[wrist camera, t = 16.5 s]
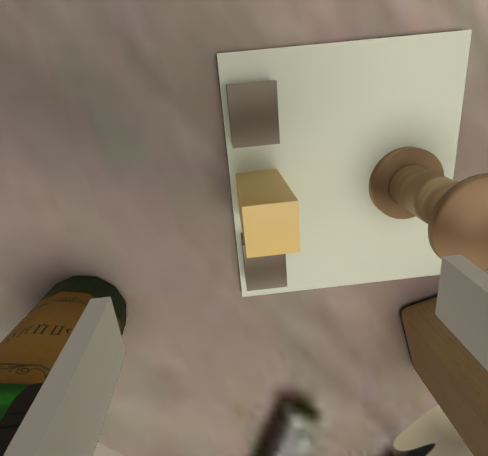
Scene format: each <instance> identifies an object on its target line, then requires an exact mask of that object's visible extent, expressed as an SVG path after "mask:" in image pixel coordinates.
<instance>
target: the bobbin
mask: <svg viewBox="0 0 488 456" xmlns="http://www.w3.org/2000/svg"><path fill="white" fill-rule="evenodd" d="M369 194H370V198H371V200H372V202H373V204H374V205H375V206H376V207H377V208H378V209H379V210H380V211H381V212H383V213H384V214H385V215H387V216H389V217H392V218H396V219H408V218H413V217H418V218H419V219H421V220H422V221H424V222H425V223H427V224H428V239H429V243H430V246H431V248H432V250H433V251H434V253H435V254H436V255H437V256H438V257H439V258H440V259H442V257H444V256H453V255H463V256H464V257H465V258H467V259H468V260H469V261H471V262H472V263H474V264H475V265H476V266H478V267H479V268H480V269H482V270H483V271H485V270H488V173H486V174H478V175H474V176H471V177H469V178H466V179H464V180H462V181H460V182H457V181H454V180H452V179H450V178H447V177H445V176H444V170H443V167H442V164H441V162H440V161H439V159H438V158H437V157H436V156H435V155H434V154H432V153H431V152H429V151H427V150H424V149H421V148H417V147H402V148H398V149H396V150H393V151H391V152H390V153H388V154H387V155H385V156H384V157H383V158H382V159H381V160H380V161H379V162H378V163H377V165H376V166H375V168H374V169H373V171H372V174H371V176H370V180H369Z"/></svg>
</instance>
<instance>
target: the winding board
mask: <svg viewBox="0 0 488 456" xmlns="http://www.w3.org/2000/svg"><path fill="white" fill-rule="evenodd" d="M471 32H472V30H462V31H452V32H441V33H430V34H420V35H409V36H398V37H388V38H377V39H366V40H356V41H345V42H334V43H324V44H313V45H302V46H292V47H281V48H270V49H260V50H249V51H238V52H228V53H217V62H218V71H219V81H220V90H221V99H222V109H223V118H224V128H225V137H226V147H227V156H228V166H229V175H230V185H231V194H232V204H233V213H234V222H235V232H236V241H237V251H238V260H239V270H240V279H241V289H242V297H246V296H255V295H264V294H273V293H281V292H290V291H299V290H308V289H317V288H325V287H334V286H343V285H352V284H361V283H369V282H378V281H387V280H396V279H405V278H414V277H422V276H431V275H440V271H441V263H442V259H440V258H439V257H438V256H437V255H436V254H435V253H434V251H433V250H432V248H431V246H430V243H429V239H428V224H427V223H425V222H424V221H422V220H421V219H419V218H418V217H413V218H408V219H396V218H392V217H389V216H387V215H385V214H384V213H383V212H381V211H380V210H379V209H378V208H377V207H376V206H375V205H374V204H373V202H372V200H371V198H370V194H369V180H370V176H371V174H372V171H373V169H374V168H375V166H376V165H377V163H378V162H379V161H380V160H381V159H382V158H383V157H384V156H385V155H387V154H388V153H390V152H391V151H393V150H396V149H398V148H402V147H417V148H421V149H424V150H427V151H429V152H431V153H432V154H434V155H435V156H436V157H437V158H438V159H439V161H440V162H441V164H442V167H443V170H444V176H445V177H447V178H450V179H452V180H453V174H454V166H455V158H456V151H457V143H458V135H459V127H460V119H461V111H462V103H463V95H464V87H465V80H466V72H467V64H468V56H469V48H470V40H471ZM269 80H277V95H278V115H279V134H280V144H272V145H262V146H252V147H242V148H233V147H232V141H231V131H230V121H229V111H228V101H227V91H226V85H228V84H238V83H249V82H259V81H269ZM273 169H277V170H278V171H279V173H280V174H281V176H282V177H283V179H284V180H285V182H286V183H287V185H288V186H289V187H290V189H291V190H292V192H293V193H294V195H295V196H296V198H297V199H298V201H299V227H300V252H298V253H289V254H286V270H287V287H280V288H271V289H262V290H253V291H247V287H246V280H245V271H244V261H243V251H242V241H241V233H242V227H241V221H240V215H239V207H238V197H237V187H236V177H235V173H245V172H254V171H264V170H273Z"/></svg>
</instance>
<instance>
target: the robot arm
mask: <svg viewBox="0 0 488 456" xmlns="http://www.w3.org/2000/svg"><path fill="white" fill-rule="evenodd" d="M435 315H436V316H437V317H438V318H439V319H440V320H441V321H442V322H443V323H444V325H445V326H446V327H447V328H448V329H449V330H450V331H451V332H452V333H453V334H454V335H455V336H456V338H457V339H458V340H459V341H460V342H461V343H462V344H463V345H464V346H465V347H466V348H467V349H468V351H469V352H470V353H471V354H472V355H473V356H474V357H475V358H476V359H477V360H478V361H479V362H480V364H481V365H482V366H483V367H484V368H485V369H486V370H487V371H488V274H487V273H486V272H485V271H483V270H482V269H480V268H479V267H478V266H476V265H475V264H474V263H472V262H471V261H469V260H468V259H467V258H465V257H464V256H463V255H453V256H444V257H442V263H441V271H440V279H439V287H438V295H437V302H436V310H435ZM125 354H126V351H125V347H124V343H123V340H122V336H121V333H120V329H119V325H118V322H117V318H116V314H115V311H114V307H113V304H112V300H111V297H102V298H94V299H90V301H89V303H88V304H87V306H86V308H85V310H84V312H83V313H82V315H81V317H80V319H79V321H78V322H77V324H76V326H75V328H74V330H73V331H72V333H71V335H70V337H69V339H68V340H67V342H66V344H65V346H64V347H63V349H62V351H61V353H60V355H59V356H58V358H57V360H56V362H55V364H54V365H53V367H52V369H51V371H50V373H49V374H48V376H47V378H46V380H45V382H44V383H36V384H29V385H28V386H27V387H26V388H25V389H24V390H23V391H22V392H21V393H20V394H18V395H17V396H16V397H15V398H14V400H13V401H12V403H11V404H10V406H9V408H8V409H7V411H6V412H5V414H4V417H3V418H2V419H1V420H0V456H93V454H94V450H95V448H96V444H97V442H98V438H99V435H100V432H101V429H102V426H103V423H104V420H105V417H106V414H107V410H108V407H109V404H110V401H111V398H112V395H113V392H114V389H115V386H116V382H117V379H118V376H119V373H120V370H121V367H122V364H123V361H124V358H125Z"/></svg>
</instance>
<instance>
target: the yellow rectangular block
mask: <svg viewBox="0 0 488 456" xmlns="http://www.w3.org/2000/svg"><path fill="white" fill-rule="evenodd" d="M235 177H236V187H237V197H238V207H239V215H240V221H241V227H242V233H243V239H244V245H245V251H246V257H247V258H253V257H262V256H271V255H280V254H289V253H298V252H300V227H299V201H298V199H297V198H296V196H295V195H294V193H293V192H292V190H291V189H290V187H289V186H288V185H287V183H286V182H285V180H284V179H283V177H282V176H281V174H280V173H279V171H278V170H277V169H273V170H264V171H254V172H245V173H235Z"/></svg>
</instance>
